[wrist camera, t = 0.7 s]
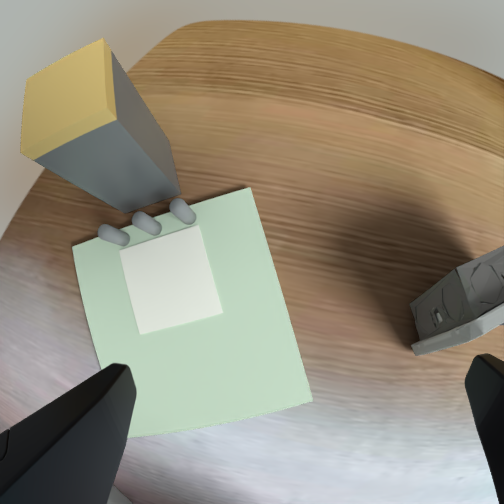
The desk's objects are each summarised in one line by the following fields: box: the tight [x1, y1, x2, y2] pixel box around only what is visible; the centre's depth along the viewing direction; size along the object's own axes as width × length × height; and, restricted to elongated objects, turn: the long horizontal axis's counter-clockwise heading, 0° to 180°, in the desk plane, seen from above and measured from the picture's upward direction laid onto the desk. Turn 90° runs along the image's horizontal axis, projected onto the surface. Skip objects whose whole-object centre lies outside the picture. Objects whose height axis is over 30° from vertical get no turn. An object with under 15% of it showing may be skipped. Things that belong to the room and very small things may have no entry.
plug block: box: [20, 38, 181, 213], centre depth 17 cm, size 4×4×12 cm
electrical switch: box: [409, 246, 504, 356], centre depth 16 cm, size 9×5×9 cm, turn 106°
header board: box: [72, 187, 313, 438], centre depth 20 cm, size 15×14×4 cm
